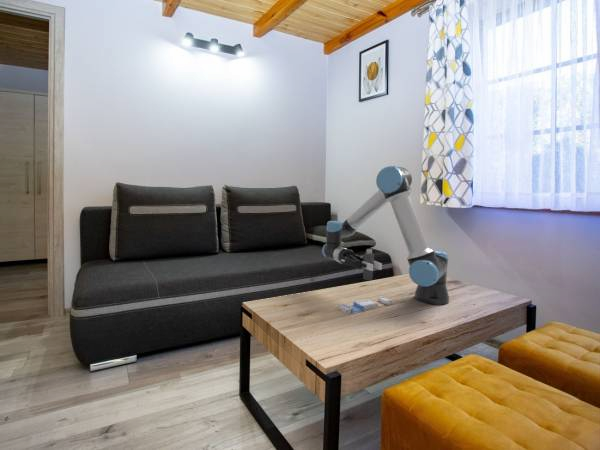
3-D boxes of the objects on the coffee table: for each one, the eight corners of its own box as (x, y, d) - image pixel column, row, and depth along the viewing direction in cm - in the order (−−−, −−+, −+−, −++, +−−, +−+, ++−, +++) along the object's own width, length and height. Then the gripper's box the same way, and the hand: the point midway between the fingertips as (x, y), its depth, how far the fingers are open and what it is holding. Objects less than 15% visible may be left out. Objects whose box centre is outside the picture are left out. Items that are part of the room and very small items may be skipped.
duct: (382, 299, 161) (382, 295, 161) (393, 304, 155) (393, 300, 155) (337, 308, 149) (338, 303, 149) (348, 314, 143) (348, 309, 142)
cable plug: (368, 277, 155) (369, 248, 153) (374, 279, 151) (375, 250, 150) (361, 278, 153) (362, 249, 151) (367, 280, 149) (368, 250, 148)
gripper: (358, 262, 171) (391, 273, 151) (329, 265, 163) (360, 278, 143) (359, 247, 170) (392, 256, 150) (329, 249, 162) (361, 260, 142)
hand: (376, 267), depth 147 cm, fingers closed on cable plug, 4 cm apart
